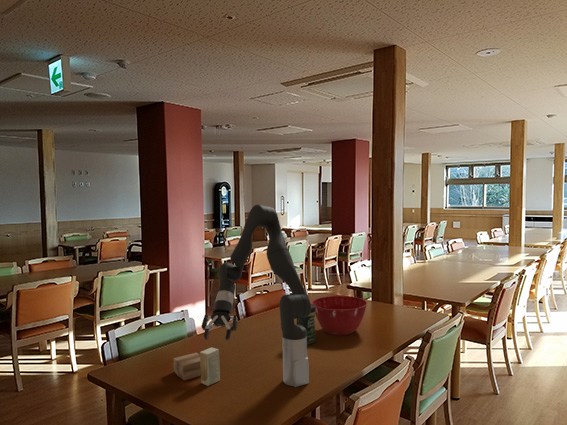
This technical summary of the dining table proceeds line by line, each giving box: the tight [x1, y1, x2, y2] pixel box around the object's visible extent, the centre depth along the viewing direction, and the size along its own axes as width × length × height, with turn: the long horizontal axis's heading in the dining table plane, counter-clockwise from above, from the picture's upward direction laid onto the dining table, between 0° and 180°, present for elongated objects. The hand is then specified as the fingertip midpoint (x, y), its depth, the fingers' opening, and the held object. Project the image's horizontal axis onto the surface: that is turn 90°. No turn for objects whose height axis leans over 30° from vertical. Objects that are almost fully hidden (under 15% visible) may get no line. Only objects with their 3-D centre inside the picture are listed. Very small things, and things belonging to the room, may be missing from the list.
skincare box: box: [199, 346, 221, 387], centre depth 161 cm, size 6×4×12 cm
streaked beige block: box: [173, 352, 201, 381], centre depth 170 cm, size 10×10×6 cm
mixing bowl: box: [311, 295, 368, 336], centre depth 219 cm, size 28×28×16 cm
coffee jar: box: [296, 303, 317, 346], centre depth 202 cm, size 10×8×19 cm
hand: (216, 339), depth 169 cm, fingers open, 8 cm apart
